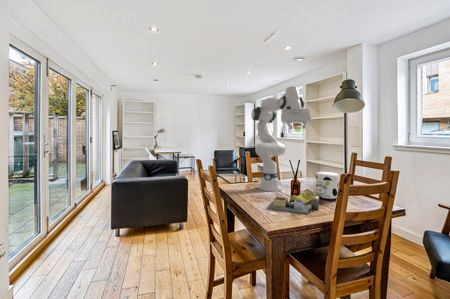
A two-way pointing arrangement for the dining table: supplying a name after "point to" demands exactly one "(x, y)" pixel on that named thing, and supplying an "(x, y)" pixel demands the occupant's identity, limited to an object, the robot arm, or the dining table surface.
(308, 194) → the plastic component
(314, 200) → the valve stub
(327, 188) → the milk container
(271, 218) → the dining table surface
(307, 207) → the manifold
